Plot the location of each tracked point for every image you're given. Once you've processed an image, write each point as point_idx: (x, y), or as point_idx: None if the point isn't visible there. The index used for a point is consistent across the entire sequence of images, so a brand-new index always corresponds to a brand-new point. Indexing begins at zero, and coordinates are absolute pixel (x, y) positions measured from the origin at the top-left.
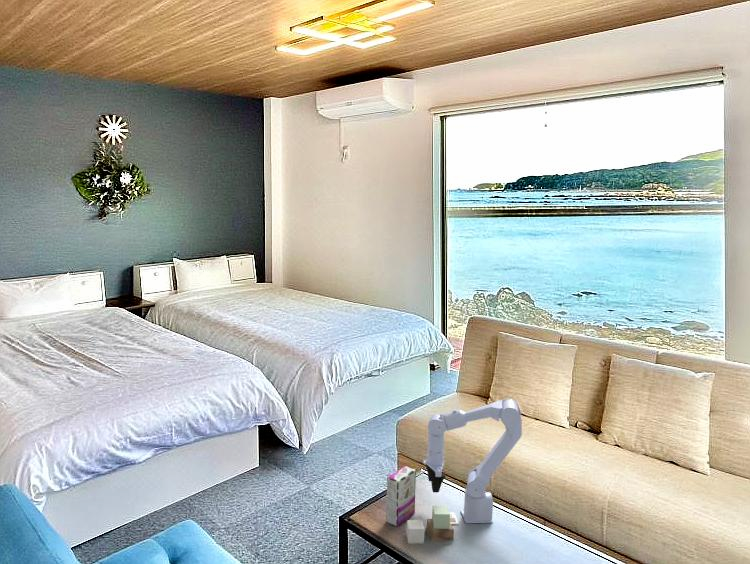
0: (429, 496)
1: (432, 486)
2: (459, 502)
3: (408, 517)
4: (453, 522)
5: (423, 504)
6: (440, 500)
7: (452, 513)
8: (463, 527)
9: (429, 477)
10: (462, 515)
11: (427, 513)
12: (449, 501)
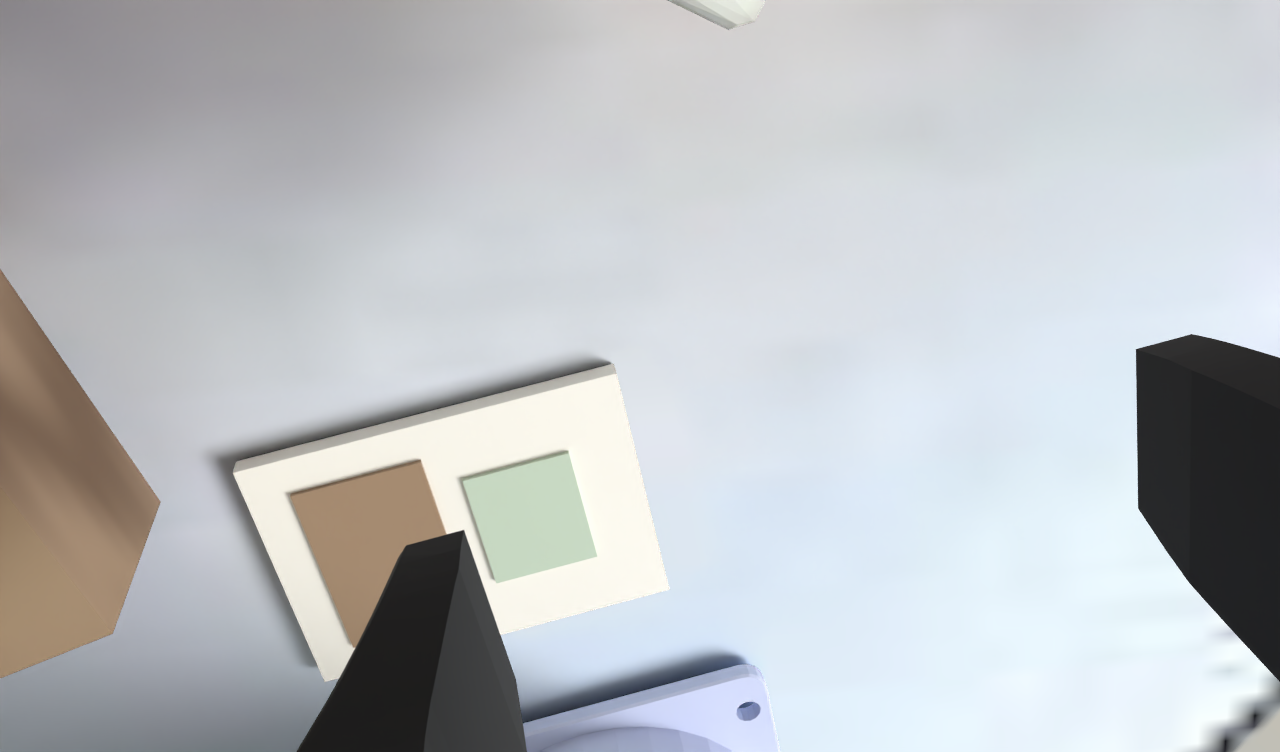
0: (1208, 112)
1: (336, 692)
2: (1011, 616)
3: None
4: (329, 609)
5: (897, 10)
6: (1064, 328)
7: (619, 569)
8: (269, 736)
9: (1220, 421)
10: (601, 703)
11: (558, 125)
12: (1035, 474)
